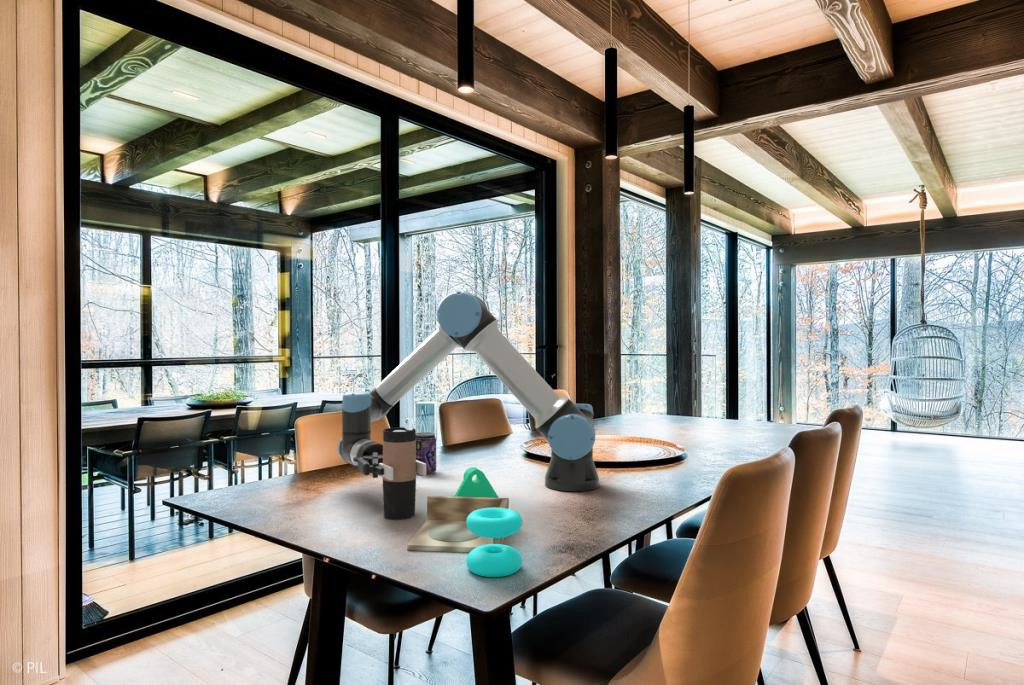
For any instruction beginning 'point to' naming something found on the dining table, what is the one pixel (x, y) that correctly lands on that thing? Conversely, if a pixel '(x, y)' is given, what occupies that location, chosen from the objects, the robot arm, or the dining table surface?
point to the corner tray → (453, 524)
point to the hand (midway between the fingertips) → (408, 471)
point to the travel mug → (399, 473)
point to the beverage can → (427, 450)
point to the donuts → (494, 556)
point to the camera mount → (475, 485)
